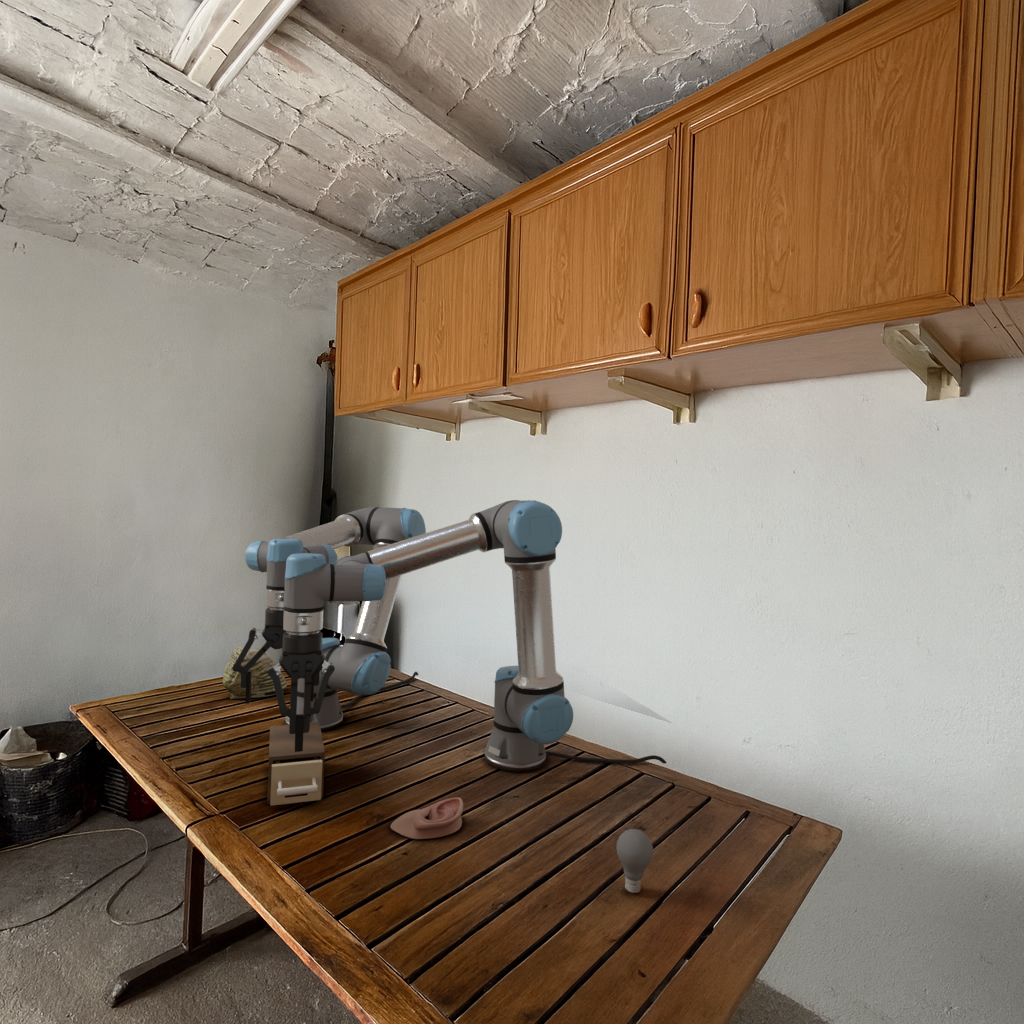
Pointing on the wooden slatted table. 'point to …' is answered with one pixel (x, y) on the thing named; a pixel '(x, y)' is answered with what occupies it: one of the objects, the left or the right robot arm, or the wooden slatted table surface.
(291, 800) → the drawer
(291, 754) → the tall brown box
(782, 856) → the wooden slatted table surface
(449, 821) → the anatomical model
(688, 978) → the wooden slatted table surface
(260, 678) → the fossil
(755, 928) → the wooden slatted table surface
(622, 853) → the light bulb
